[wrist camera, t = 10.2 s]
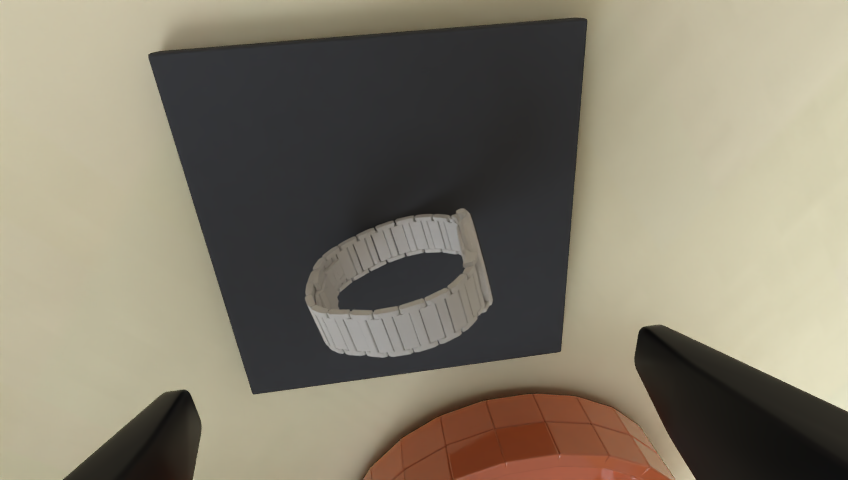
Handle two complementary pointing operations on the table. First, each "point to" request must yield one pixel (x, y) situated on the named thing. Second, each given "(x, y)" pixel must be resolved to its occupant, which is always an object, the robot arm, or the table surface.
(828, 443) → the robot arm
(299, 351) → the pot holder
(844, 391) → the table surface
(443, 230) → the wristwatch
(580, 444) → the dish
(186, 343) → the table surface
